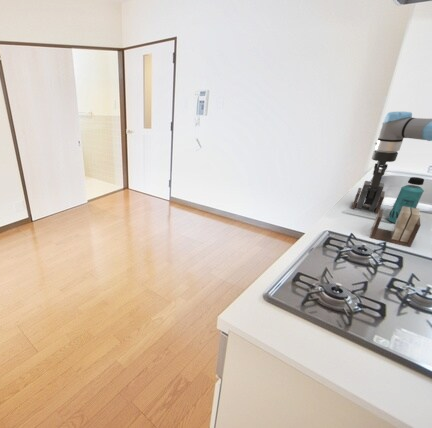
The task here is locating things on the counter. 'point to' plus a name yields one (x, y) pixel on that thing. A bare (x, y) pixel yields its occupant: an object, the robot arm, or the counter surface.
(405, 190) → the beverage bottle
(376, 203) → the grey rack
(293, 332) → the counter surface
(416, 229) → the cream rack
